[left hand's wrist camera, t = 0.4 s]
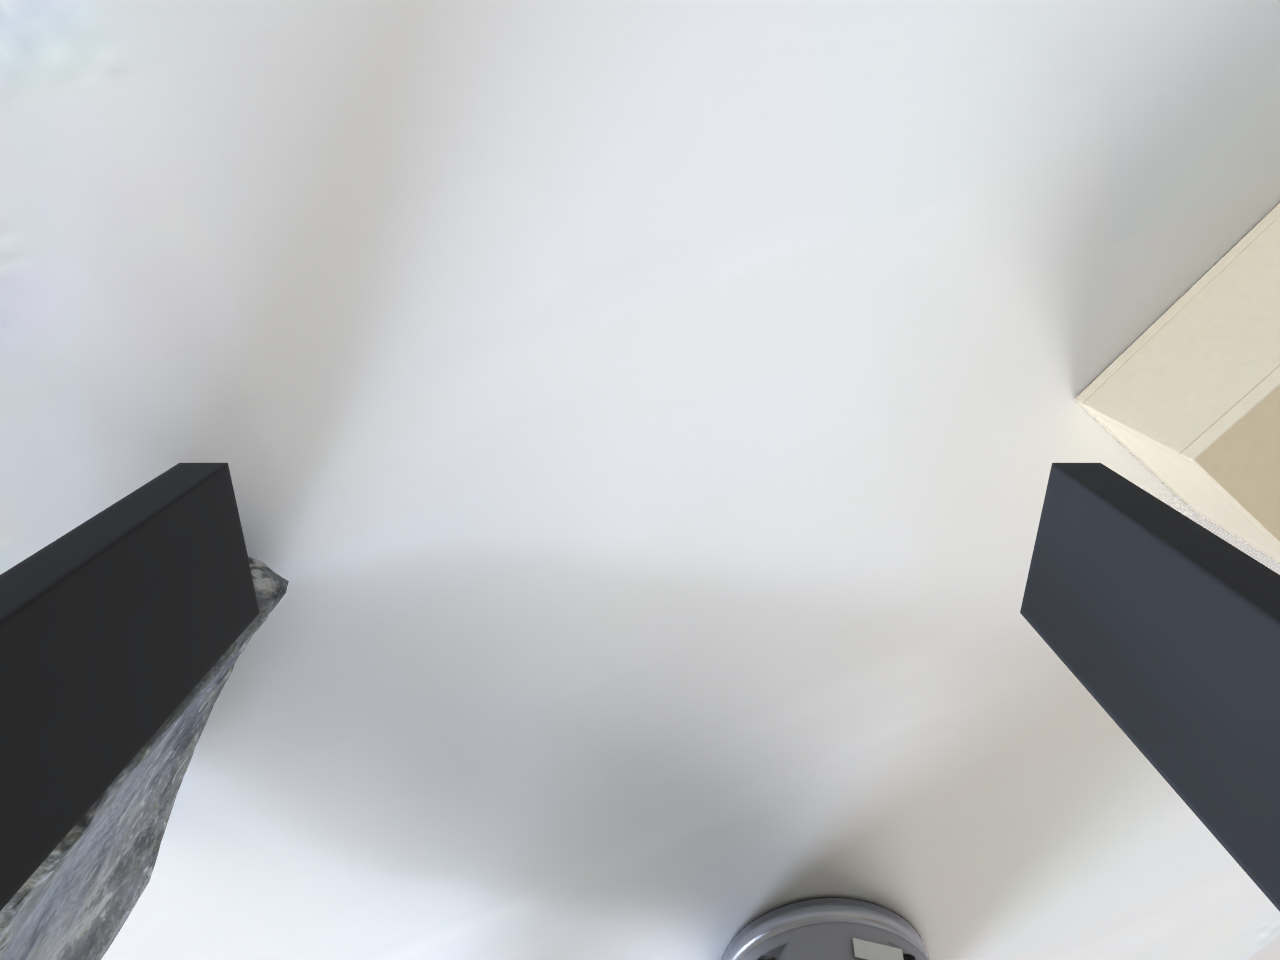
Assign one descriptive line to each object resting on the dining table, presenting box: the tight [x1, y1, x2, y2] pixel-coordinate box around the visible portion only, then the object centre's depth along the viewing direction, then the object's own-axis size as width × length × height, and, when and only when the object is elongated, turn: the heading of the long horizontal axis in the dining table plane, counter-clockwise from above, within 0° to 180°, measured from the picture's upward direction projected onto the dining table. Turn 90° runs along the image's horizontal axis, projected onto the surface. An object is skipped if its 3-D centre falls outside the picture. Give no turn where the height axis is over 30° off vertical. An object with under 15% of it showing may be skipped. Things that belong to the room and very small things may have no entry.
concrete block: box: [0, 557, 289, 960], centre depth 37 cm, size 27×9×20 cm, turn 148°
